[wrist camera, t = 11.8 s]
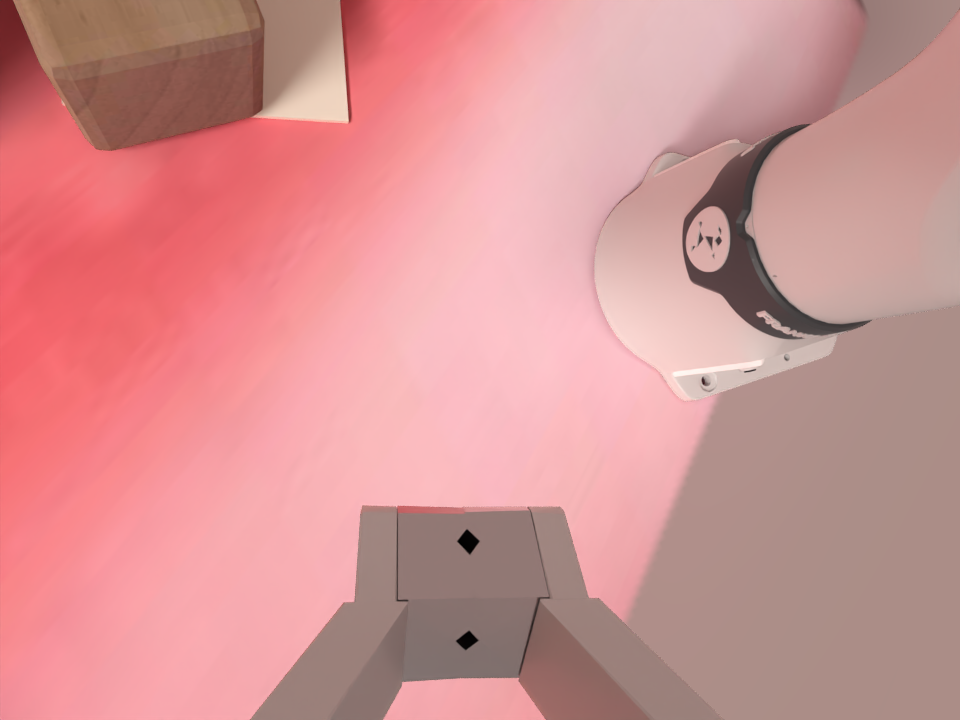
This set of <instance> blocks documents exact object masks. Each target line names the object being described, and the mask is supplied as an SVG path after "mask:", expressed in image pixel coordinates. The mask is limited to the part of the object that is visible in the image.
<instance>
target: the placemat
mask: <svg viewBox="0 0 960 720" xmlns="http://www.w3.org/2000/svg"><path fill="white" fill-rule="evenodd" d="M256 1H257V3H258V6H259V8H260V11H261V13H262V16H263V18H264V20H265V27H264V73H263V109H262V110H261V111H260V112H259V113H257V114H256V115H254V116H253V118H269V119H285V120H301V121H317V122H333V123H348V122H349V119H348V105H347V91H346V77H345V63H344V48H343V34H342V20H341V6H340V0H256ZM62 104H63V106H65V104H64V103H63V101H62Z"/></svg>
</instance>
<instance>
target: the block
mask: <svg viewBox="0 0 960 720" xmlns="http://www.w3.org/2000/svg"><path fill="white" fill-rule="evenodd" d="M13 1H14V4H15V6H16V9H17V11H18V13H19V16H20V18H21V20H22V23H23V25H24V27H25V30H26V32H27V35H28V37H29V39H30V42H31V44H32V46H33V49H34V51H35V54H36V56H37V58H38V61H39V63H40V65H41V67H42V68H43V70H44V72H45V73H46V75H47V76H48V78H49V80H50V81H51V83H52V85H53V86H54V88H55V89H56V91H57V93H58V94H59V96H60V98H61V99H62V101H63V103H64V104H65V106H66V107H67V109H68V111H69V112H70V114H71V116H72V117H73V119H74V120H75V122H76V124H77V125H78V127H79V129H80V130H81V132H82V134H83V135H84V137H85V138H86V139H87V140H88V141H89V142H90V143H91V144H92V145H93V146H94V147H95V148H96V149H98V150H111V151H112V150H116V149H121V148H125V147H129V146H133V145H137V144H141V143H146V142H150V141H154V140H158V139H162V138H166V137H170V136H175V135H179V134H183V133H187V132H191V131H195V130H200V129H204V128H208V127H212V126H216V125H220V124H225V123H229V122H233V121H237V120H241V119H245V118H249V117H253V116H254V115H256V114H257V113H259V112H260V111H261V110H262V109H263V73H264V27H265V20H264V18H263V16H262V13H261V11H260V8H259V6H258V3H257V1H256V0H13Z"/></svg>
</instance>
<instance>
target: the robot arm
mask: <svg viewBox="0 0 960 720" xmlns="http://www.w3.org/2000/svg"><path fill="white" fill-rule="evenodd" d="M594 276H595V285H596V290H597V295H598V299H599V302H600V305H601V308H602V310H603V313H604V315H605V317H606V319H607V321H608V323H609V325H610V327H611V328H612V330H613V331H614V333H615V334H616V335H617V337H618V338H619V339H620V341H621V342H622V343H623V344H624V345H625V346H626V347H627V348H628V349H629V350H630V351H631V352H632V353H634V354H635V355H636V356H638V357H639V358H640V359H642V360H643V361H645V362H646V363H648V364H650V365H651V366H653V367H654V368H655V369H656V370H658V371H659V372H660V373H661V375H662V376H663V378H664V379H665V381H666V382H667V384H668V385H669V386H670V388H671V389H672V391H673V392H674V393H675V394H676V395H677V396H678V397H679V398H680V399H681V400H683V401H687V402H690V401H695V400H700V399H703V398H706V397H709V396H712V395H715V394H718V393H721V392H724V391H726V390H729V389H732V388H735V387H738V386H741V385H744V384H747V383H750V382H753V381H756V380H759V379H762V378H765V377H768V376H771V375H774V374H777V373H780V372H783V371H785V370H789V369H791V368H794V367H797V366H800V365H803V364H806V363H809V362H812V361H815V360H818V359H821V358H824V357H826V356H828V355H829V354H831V352H832V350H833V348H834V345H835V342H836V339H837V336H838V335H839V334H842V333H845V332H848V331H851V330H853V329H856V328H858V327H861V326H863V325H865V324H867V323H868V322H870V321H872V320H874V319H881V318H887V317H893V316H900V315H906V314H913V313H919V312H925V311H932V310H938V309H944V308H951V307H957V306H960V9H959V10H958V11H957V12H956V14H955V15H954V16H953V18H952V19H951V20H950V22H949V23H948V24H947V25H946V26H945V28H944V29H943V30H942V31H941V32H940V33H939V35H938V36H937V37H936V38H935V39H934V40H933V41H932V42H931V43H930V44H929V45H928V46H927V47H926V48H925V49H924V50H923V51H922V52H921V53H919V54H918V55H917V56H916V57H915V58H914V59H913V60H911V61H910V62H909V63H907V64H906V65H905V66H904V67H902V68H901V69H900V70H899V71H897V72H896V73H894V74H893V75H892V76H890V77H888V78H887V79H885V80H884V81H882V82H881V83H879V84H878V85H876V86H875V87H873V88H872V89H870V90H869V91H867V92H866V93H864V94H862V95H861V96H859V97H858V98H856V99H855V100H853V101H851V102H849V103H848V104H846V105H845V106H843V107H841V108H839V109H838V110H836V111H834V112H833V113H831V114H829V115H827V116H826V117H824V118H822V119H820V120H819V121H817V122H815V123H813V124H805V125H798V126H795V127H791V128H789V129H786V130H784V131H782V132H778V133H775V134H772V135H769V136H767V137H765V138H763V139H761V140H760V141H758V142H756V143H754V144H753V145H751V144H747V143H741V142H740V141H739V140H738V139H732V140H728V141H725V142H723V143H721V144H719V145H716V146H714V147H712V148H710V149H708V150H706V151H703V152H701V153H699V154H697V155H695V156H693V157H688V156H685V155H681V154H678V153H673V152H669V153H666V154H664V155H661V156H659V157H658V158H656V159H655V160H654V162H653V163H652V164H651V166H650V168H649V170H648V172H647V174H646V176H645V178H644V180H643V182H642V184H641V185H640V186H639V187H638V188H637V189H636V190H635V191H634V192H632V193H631V194H630V195H628V196H627V197H626V198H624V199H623V200H622V201H621V202H620V203H619V204H618V205H617V206H616V207H615V208H614V210H613V211H612V212H611V213H610V215H609V216H608V218H607V220H606V222H605V223H604V225H603V228H602V230H601V232H600V235H599V238H598V242H597V246H596V252H595V260H594ZM702 377H703V378H704V380H705V383H704V385H703V384H702V381H701V379H702ZM455 678H519V682H520V684H521V685H522V686H523V688H524V689H525V691H526V692H527V694H528V695H529V696H530V698H531V699H532V701H533V702H534V703H535V705H536V706H537V708H538V709H539V711H540V712H541V713H542V715H543V716H544V718H545V719H546V720H724V719H723V718H722V717H721V716H720V715H719V714H718V713H717V712H716V711H715V710H714V709H713V708H712V707H711V706H709V705H708V704H707V703H706V702H705V701H704V700H703V699H702V698H701V697H700V696H699V695H698V694H697V693H696V692H695V691H694V690H693V689H692V688H691V687H690V686H689V685H688V684H687V683H686V682H685V681H684V680H682V678H681V677H680V676H678V675H677V674H676V673H675V672H674V671H673V670H672V669H671V668H670V667H669V666H668V665H667V664H666V663H665V662H664V661H663V660H662V659H661V658H660V657H659V656H658V655H657V654H656V653H655V652H654V651H653V650H651V648H650V647H649V646H648V645H647V644H645V643H644V642H643V641H642V640H641V639H640V638H639V637H638V636H637V635H636V634H635V633H634V632H633V631H632V630H631V629H630V628H629V627H628V626H627V625H626V624H625V623H624V622H623V621H622V620H621V619H620V618H619V617H618V616H617V615H616V614H615V613H613V612H612V611H611V610H610V609H609V608H608V607H607V606H606V605H605V604H604V603H603V602H602V601H601V600H600V599H599V598H589V597H588V594H587V590H586V587H585V583H584V580H583V576H582V572H581V569H580V565H579V562H578V558H577V555H576V551H575V548H574V544H573V541H572V537H571V534H570V530H569V527H568V523H567V520H566V516H565V513H564V511H563V510H562V509H561V507H527V508H526V507H462V508H454V507H420V506H397V508H396V506H363V505H362V510H361V514H360V527H359V542H358V557H357V572H356V587H355V602H344V603H343V604H342V605H341V607H340V608H339V609H338V610H337V612H336V613H335V614H334V615H333V617H332V618H331V619H330V620H329V622H328V623H327V624H326V625H325V627H324V628H323V629H322V630H321V632H320V633H319V634H318V635H317V637H316V638H315V639H314V640H313V642H312V643H311V644H310V645H309V647H308V648H307V649H306V650H305V652H304V653H303V654H302V655H301V657H300V658H299V659H298V660H297V662H296V663H295V664H294V665H293V667H292V668H291V669H290V670H289V672H288V673H287V674H286V675H285V677H284V678H283V679H282V680H281V682H280V683H279V684H278V685H277V687H276V688H275V689H274V690H273V692H272V693H271V694H270V695H269V697H268V698H267V699H266V700H265V702H264V703H263V704H262V705H261V707H260V708H259V709H258V710H257V712H256V713H255V714H254V715H253V717H252V718H251V719H250V720H383V719H384V717H385V715H386V713H387V711H388V710H389V708H390V706H391V704H392V703H393V701H394V699H395V697H396V695H397V694H398V692H399V690H400V688H401V686H402V682H408V681H424V680H439V679H455Z"/></svg>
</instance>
